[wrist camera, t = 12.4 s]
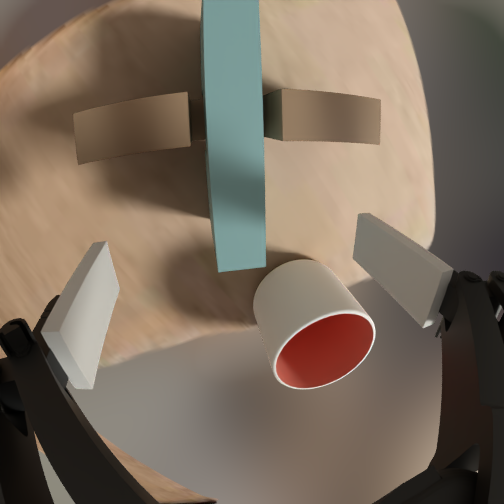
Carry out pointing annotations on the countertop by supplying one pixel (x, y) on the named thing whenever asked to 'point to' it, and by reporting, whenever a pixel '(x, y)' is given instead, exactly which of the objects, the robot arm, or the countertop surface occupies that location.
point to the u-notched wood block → (193, 123)
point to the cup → (310, 325)
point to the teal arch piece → (234, 131)
